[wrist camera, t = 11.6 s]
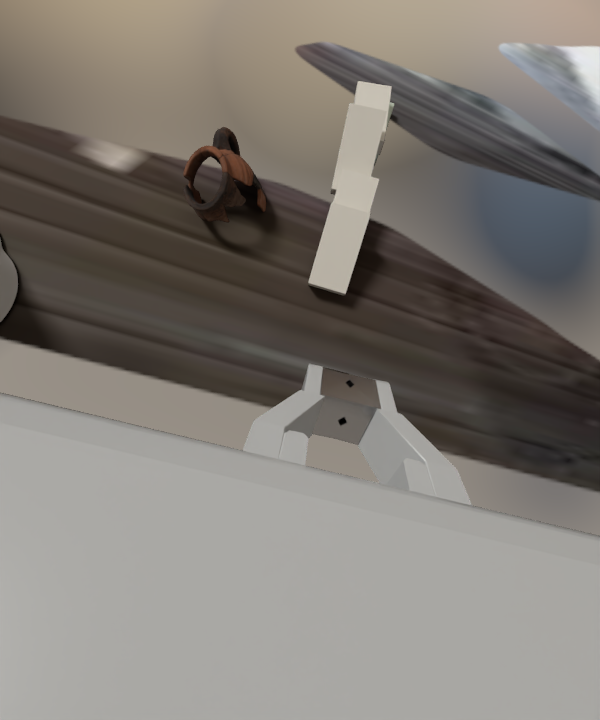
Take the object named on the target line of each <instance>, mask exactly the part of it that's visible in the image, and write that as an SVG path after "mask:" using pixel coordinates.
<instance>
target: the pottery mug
mask: <svg viewBox="0 0 600 720" xmlns="http://www.w3.org/2000/svg"><path fill="white" fill-rule="evenodd" d="M208 157H213V158H214V159H216V160H217V162H219V164H221V167H222V173H223V175H222V182H221V186H220V188H219V190H218V192H217V194H216V196H215V197H214V198H213V199H212V200H211V201H209V202H207V203H204V204H201V197H200V193H199V191H197V190H196V189H195V188H194V186H193V184H194V178H195V175H196V172H197V170H198V168H199V167H200V165H201V164H202V163H203V161H205V160H206V159H207V158H208ZM184 177H185V178H186V179H188V180H189V187H188V186H187V185H185V186H184V189H183V193H184V196H185V198H186V200H187V202H188V204H189V205H190V206H191V207H193V208H194V210H195V212H196V213H197V215H198V216H199V217H200V218H202V219H203V220H205V221H206V220H208V221H216V220H220V221H224V222H229V219H228V217H227V214H226V210H225V206H228V207H235V206H242V205H243V204H244V203H245V201H246V199H245V198H244V197H243V196H242V195H241V194H240V191H239V189H238V188H237V186H236V184H235V182H234V180H237V181H240V182H241V183H243V184H244V185H246V186H252V185H254V186H256V188H257V190H258V198H257V205H258V206H259V207H260V208H261V210H262V211H263V212H264V211H265V208H266V198H265V193H264V191H263V189H262V187H261V184H260V183H259V181H258V179H257V177H256V176H255V174H254V173H253V171H252V169H251V168H250V166H249V165H248V164H247V163H246V162H245V161H244V160H243V158H241V157H240V151H239V146H238V142H237V139H236V137H235V135H234V134H233V132H231V131H230V129H228V128H225V127H222V128H221V129H218V130H217V131H216V133H215V135H214V140H213V146H204V147H201V148H200V149H198V150H197V151H195V152H194V154H193V155H192V156H191V157H190V159H189V161H188V162H187V164H186V167H185V170H184Z"/></svg>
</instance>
